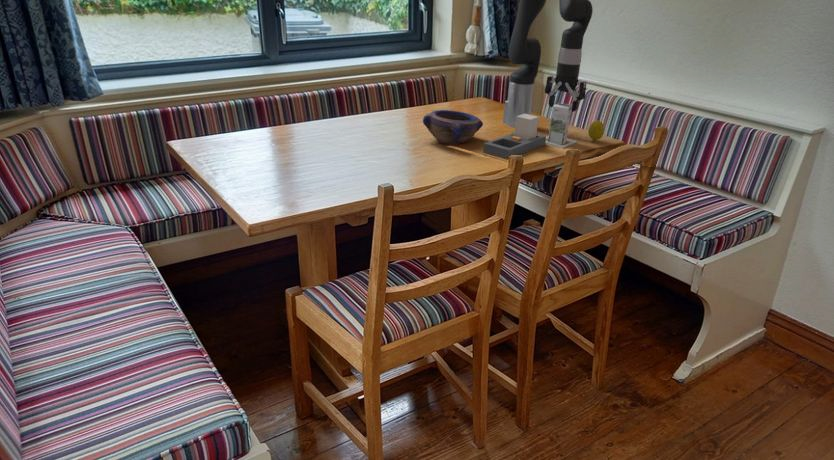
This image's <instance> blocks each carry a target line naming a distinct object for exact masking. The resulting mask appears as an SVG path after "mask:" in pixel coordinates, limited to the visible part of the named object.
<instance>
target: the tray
mask: <svg viewBox="0 0 834 460" xmlns="http://www.w3.org/2000/svg"><path fill="white" fill-rule="evenodd" d="M548 137H549V135H546V141H545V145H548V146H552V147H557V148H561V149H565V148H566V147H567V148H568V147H570V146H573V145H575V144H576V143H577V142H578V141H577V140H575V139H570V138H567V141H566V142H568V143H565V144H564V145H558V144H553V143H550V142H548V141H547V140H548Z"/></svg>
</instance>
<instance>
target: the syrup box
mask: <svg viewBox="0 0 834 460" xmlns="http://www.w3.org/2000/svg"><path fill="white" fill-rule="evenodd" d="M571 110H572V104H568V103H561V102H555V103H554V105H553V107H552V110H551V116H550V117H551V118H550V125H549V131H548V136H549V137H548V139H547V142H550V143H553V144H557V145H561V146H563V145H565V144H567V142H568V141H567V139H568V131H569V127H570V121H571V115H572V111H571Z"/></svg>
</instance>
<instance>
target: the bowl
mask: <svg viewBox="0 0 834 460" xmlns="http://www.w3.org/2000/svg"><path fill="white" fill-rule="evenodd" d="M422 123H423V125H424V126H425V127H426V129H428V131H429V133H430V134H431V135H432V137H434V138H435V139H436V141H437V142H439V143H441V144H444V145H450V146H451V145H453V144H454V145H455V144H463V143H467V142H468V141H470V140H471V139H472V138H473V137H475V134H476V133H477V132H478V131H479V130H480V129H482V127H484V122H483V121H482V120H481V119H480V118H479V117H477V116H475V115H473V114H471V113H467V112H464V111H457V110H451V109H450V110H449V109H440V110H438V109H437V110H434V111H431V112H430V113H427V114H425V115H423V118H422Z"/></svg>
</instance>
